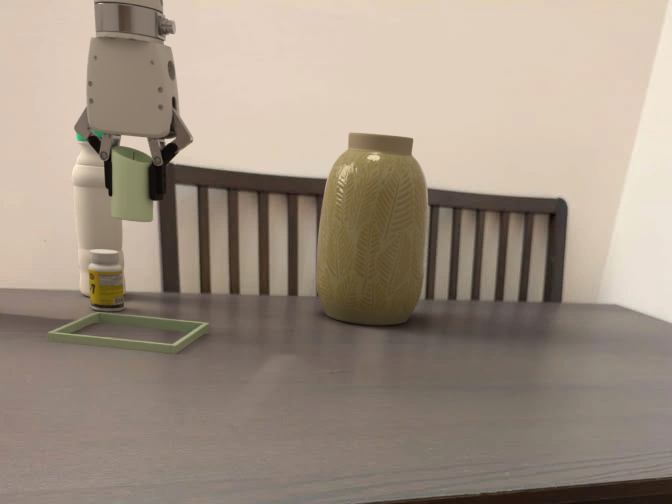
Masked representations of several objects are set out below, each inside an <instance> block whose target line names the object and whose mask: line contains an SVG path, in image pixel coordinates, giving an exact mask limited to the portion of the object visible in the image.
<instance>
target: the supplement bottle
mask: <svg viewBox="0 0 672 504" xmlns="http://www.w3.org/2000/svg"><path fill="white" fill-rule="evenodd" d="M90 261H92V263H91V264H90V265H89V267H88V272H89V285H90V297H89V298H90V307H91V309H92V310H94V311H95V312H105V313H115V312H121V311H123V310H124V309H125V299H124V298H125V297H124V295H123V277H122V267H121V266H120V265H119V264H118V263H117V262H119V254H118V251H114V250H105V249H94V250H90Z"/></svg>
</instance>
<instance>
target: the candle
mask: <svg viewBox="0 0 672 504" xmlns="http://www.w3.org/2000/svg"><path fill="white" fill-rule="evenodd" d="M111 162H112V197H111V215H112V216H113V217H114V218H117V219H121V220H122V221H127V222H128V221H129V222H137V223H151V222H153V221H154V201H152V200H151V199H150V198H149V166H150V165H152V156H151V155H149V154H147V153H146V152H143V151H141V150H139V149H137V148H133V147H129V146H126V145H125V146H124V145H120V146H114V147H112V149H111Z"/></svg>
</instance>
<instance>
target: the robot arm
mask: <svg viewBox="0 0 672 504" xmlns="http://www.w3.org/2000/svg"><path fill="white" fill-rule="evenodd" d="M93 4H94V7H93V9H94V26H95V28H94V29H95V37H93V36H91V37H90V40H89V41H90V42H89V47H88V53H87V55H88V56H87V65H86V84H85V85H86V87H85V88H86V90H85V91H86V95H85V97H86V106H85V108H84V109H83V111H82V113H81V115H80V116H79V118H78V119H77V121H76V123H75V124H74V127H73V130H74V131H75V133H76V132H77V133H78V134H79V135H80V136H81V137H82V138H83V139H85V140H86V141H87V142H89V144H90V145H91V146H92V148H93V149H94V150H95V151H96V152H97V153H98V154H99V157H100V159H101V160H103V161H104V175H105V187H106V188H107V189H108V194H109V196H110V197H112V162H111V149H112V147H114V146H121V140H122V136H125V137H126V136H128V137H136V138H137V137H138V138H146V139H147V144H148V148H149V152H150V157H151V158H152V165H150V166H149V198H150V199H151V200H152V201H153V202H159V201H163V200H164V195H166V194H167V188H168V187H167V166H169V165H170V162H172V161H173V159H174V158H175V157H176V156H177V155H178V154H179V153H180V151H182V150H184V149H185V148H187V147H188V146H189V145H191V144H193V142H194V136H193V135H192V134H191V133H192V132H191V131H190V130H189V128H188V127H187V125H186V124H185V121H184V120H183V119H182V117H181V111H180V100H179V88H178V79H177V72H176V71H177V70H176V65H175V60H174V54H173V49H172V47H171V46H169V45H166V44H165V42H166V41H167V40H166V39H167V38H166V37H167V36H169V35H175V34H176V33H177V32H176V31H177V25H176V21H175V20H172V19H168V18H167V17H166V15H165V13H164V0H93ZM92 129H93V130H95V131H97V132H100V133H103V134H102V138H101V137H100V136H98V135H97V134H96V133H95V132H94V131H93V130H92ZM172 139H173V140H172ZM166 140H171V141H170V142H168V143H166Z"/></svg>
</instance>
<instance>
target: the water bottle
mask: <svg viewBox="0 0 672 504" xmlns="http://www.w3.org/2000/svg"><path fill="white" fill-rule="evenodd" d="M92 130H93V129H92ZM93 131H94V132H95V133H96V134H97V135H98V136H100V137H101V138H102V134H103V133H100V132H97V131H95V130H93ZM75 136H76V140H77V141H78V142H77V144H78V145H79V147H80V152H79V154H78V155H77V158H76V160H75V163H76V164H75V165H74V166H73V169H72V172H71V182H72V185H73V212H74V213H73V214H74V226H75V235H76V241H77V246H78V249H77V262H78V263H77V264H78V268H79V290H80V293H81V294H82V295H83V296H86V297H89V298H90V285H89V272H88V267H89V265H90V264H91V263H92V261H90V250H94V249H105V250H114V251H118V254H119V262H117V263H118V264H119V265H120V266H121V267H122V277H123V296H124V295H125V294H126V291H127V285H126V278H125V277H126V276H125V255H124V251H123V220H121V219H117V218H114V217H113V216H112V215H111V197H110V196H109V194H108V189H107V188H106V187H105V175H104V161H103V160H101V159H100V157H99V154H98V153H97V152H96V151H95V150H94V149H93V148H92V146H91V145H90V144H89V142H87V141H86V140H85V139H83V138H82V137H81V136H80V135H79V134H78V133H77V132H76V131H75Z"/></svg>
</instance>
